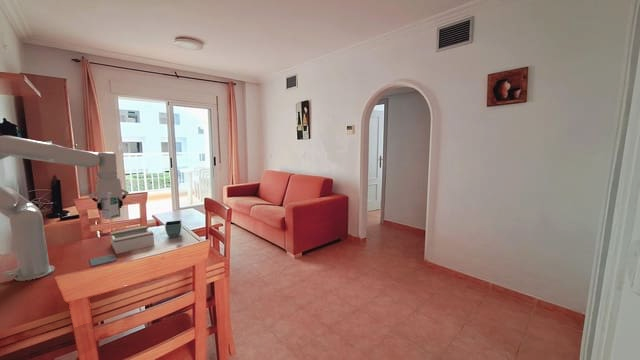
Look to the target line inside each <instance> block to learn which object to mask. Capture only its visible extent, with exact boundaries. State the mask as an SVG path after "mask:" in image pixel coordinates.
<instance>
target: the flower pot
mask: <svg viewBox="0 0 640 360" xmlns="http://www.w3.org/2000/svg"><path fill="white" fill-rule="evenodd" d="M164 228H165V232H166V235H167V237H168V238H170V239H171V238H179V237H180V235H181V232H182V231H181V230H182V220H181V219H180V220H172V221H166V222H165V224H164Z"/></svg>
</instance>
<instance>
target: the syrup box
mask: <svg viewBox="0 0 640 360" xmlns="http://www.w3.org/2000/svg"><path fill="white" fill-rule="evenodd" d="M100 202H101V210H100V213H101V219H103V220H113V219H117V218H120V217H121V208H120V204H119V198H118V197H112V193H111V192H107V198H102V199H101V201H100Z"/></svg>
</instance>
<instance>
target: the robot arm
mask: <svg viewBox="0 0 640 360" xmlns="http://www.w3.org/2000/svg"><path fill="white" fill-rule="evenodd" d="M8 157H14V158H20V159H26V160H33V161H39V162H40V161H41V162H44V163H45V162H47V163H52V164H55V163H56V164H61V165H68V166H76V167H84V168H95V167H97V168H98V169H97V171H98V173H95V174H94V177H97V180H96V190H94V191H93V192H91V193H90V194H89V195H88V198H90V199H91V200H93V202H95V203H96V208H97V209H98V210H99V211H101V202H100V201H101V199H102V198H107V192H111V193H112V197H118V198H119V204H120V209H122V208H123V206H124V205H123V204H124V203H123V200H125V198H127V196H128V195H129V193H130V192H129V191H127V190H125V189H123V188H122V185H121V179H120V178H119V177H118V170H117V169H118V168H117V167H118V166H117V154H116V153H115V152H113V151H99V152H97V151H96V152H94V151H87V150H80V149H75V148H70V147H67V146H66V147H65V146H62V145H59V144H55V143H50V142H46V141H39V140H33V139H28V138H25V137H24V138H22V137H18V136H13V135H5V134H4V135H0V160H4V159H6V158H8ZM95 195H96V196H97V198H96V197H94V196H95ZM0 214H2V215H4V216H5V217H7V218H8V219H9V224H10V229H11V234H12V240H13V244H14V251H15V257H16V262H17V268H14V269H13V270H7V271H3V277H7V278H8V277H14V280H15V281H16V282H17V281H18V282H26V280H27V281H31V280H32V279H33V280H35V279H36V278H37V279H40V278H43V277H46V276H48V275H49V274H50V275H51V274H52V273H53V272H55V269H56V268H55V266H53V265H50V260H49V254H48V245H47V241H46V235H45V228H44V227H45V225H44V217H43V215H42V211H41V210H40V208H39V207H37V206H36V204H33V202H31V201H30V200H28V199H27V198H25V196H23V195H22V194H20V193H19V192H17V191H16V190H15V189H14V188H13V189H12V188H10V187H8V186H3V185H2V184H0ZM33 280H32V281H33Z"/></svg>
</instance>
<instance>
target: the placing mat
mask: <svg viewBox="0 0 640 360" xmlns="http://www.w3.org/2000/svg"><path fill="white" fill-rule="evenodd" d="M116 261H118V259H117V257H116V255H115V253H111V254H106V255H102V256H98V257H94V258H90V259H89V263H90V266H91V267H97V266H100V265H101V266H102V265H105V264H109V263H113V262H116Z"/></svg>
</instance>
